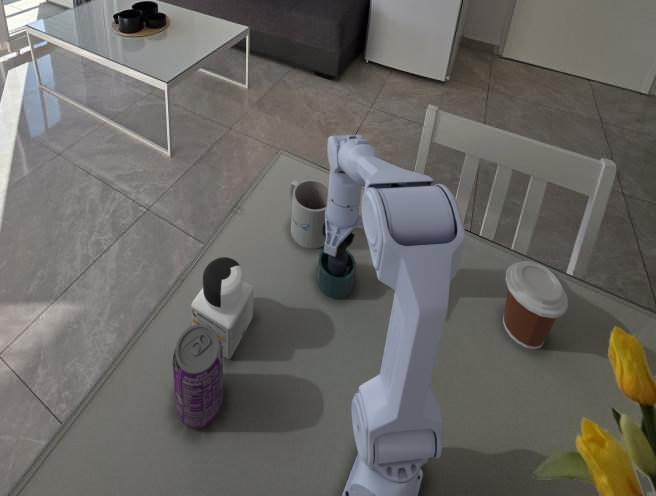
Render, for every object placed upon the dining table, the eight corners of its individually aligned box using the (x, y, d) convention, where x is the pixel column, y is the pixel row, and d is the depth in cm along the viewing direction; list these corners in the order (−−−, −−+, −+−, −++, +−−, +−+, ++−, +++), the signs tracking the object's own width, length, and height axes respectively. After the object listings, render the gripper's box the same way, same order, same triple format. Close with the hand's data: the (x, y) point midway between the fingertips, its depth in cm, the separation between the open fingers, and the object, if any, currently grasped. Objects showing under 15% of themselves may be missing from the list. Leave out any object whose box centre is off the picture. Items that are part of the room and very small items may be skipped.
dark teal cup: (343, 307, 78) (345, 287, 77) (310, 284, 82) (311, 265, 80) (359, 277, 84) (361, 258, 82) (327, 257, 87) (329, 239, 86)
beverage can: (201, 362, 69) (199, 310, 65) (232, 397, 65) (232, 344, 61) (165, 404, 64) (161, 350, 60) (197, 445, 60) (195, 390, 56)
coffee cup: (546, 371, 69) (565, 320, 66) (487, 329, 75) (501, 280, 71) (558, 328, 76) (575, 278, 72) (502, 292, 82) (516, 245, 78)
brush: (343, 279, 79) (347, 241, 77) (324, 271, 81) (328, 233, 78) (348, 263, 83) (352, 226, 80) (330, 255, 84) (334, 219, 81)
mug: (337, 242, 91) (340, 205, 88) (299, 253, 88) (302, 215, 85) (313, 198, 102) (316, 164, 99) (279, 207, 99) (281, 172, 96)
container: (191, 336, 73) (189, 280, 69) (217, 296, 79) (216, 243, 75) (229, 361, 69) (229, 304, 65) (253, 317, 76) (254, 263, 72)
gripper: (356, 235, 68) (348, 296, 73) (374, 175, 81) (367, 230, 85) (314, 219, 71) (309, 278, 75) (338, 163, 84) (333, 217, 88)
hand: (338, 252), depth 80 cm, fingers closed on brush
